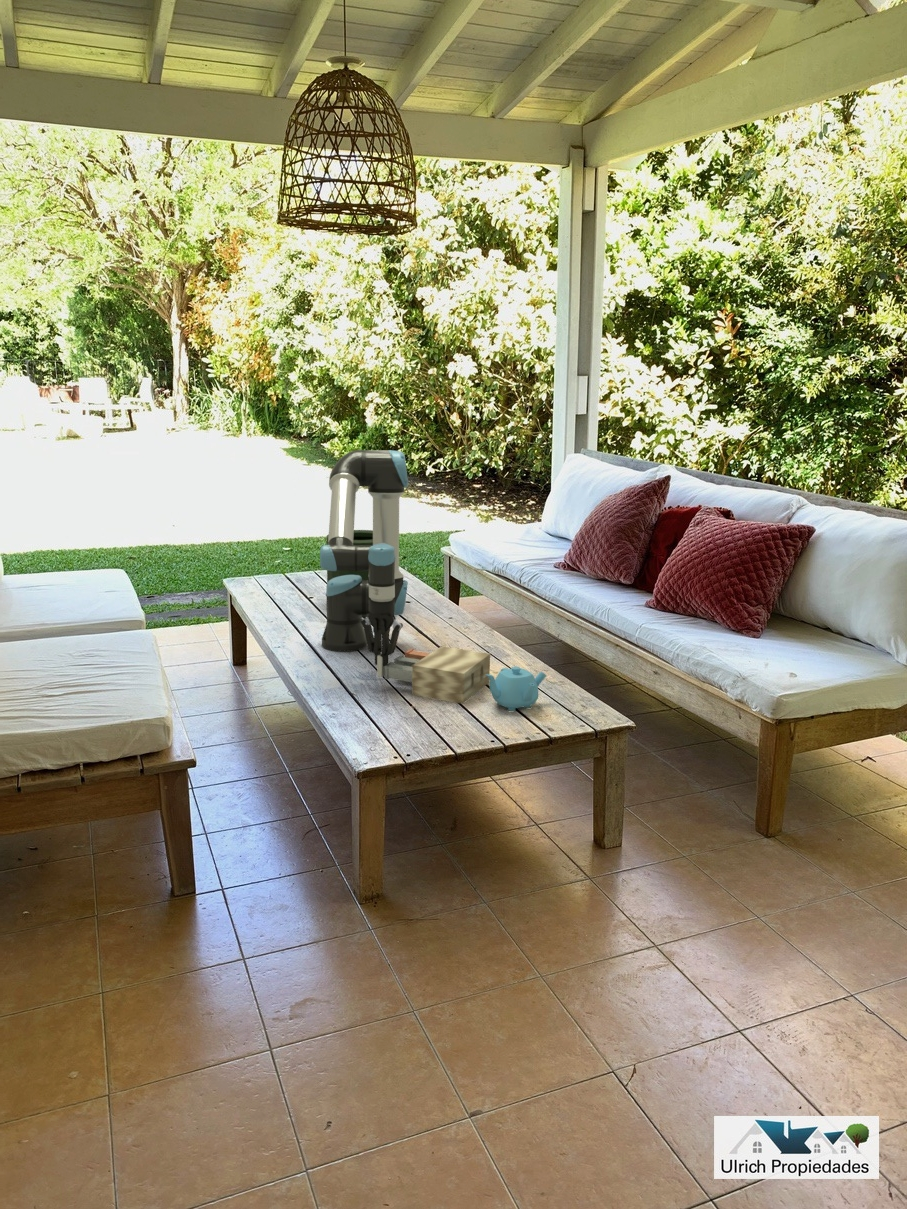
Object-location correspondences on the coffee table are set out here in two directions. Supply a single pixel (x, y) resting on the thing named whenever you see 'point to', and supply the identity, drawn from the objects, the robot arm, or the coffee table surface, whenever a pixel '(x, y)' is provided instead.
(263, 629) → the coffee table surface
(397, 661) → the grey plug middle
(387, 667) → the grey plug near
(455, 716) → the coffee table surface
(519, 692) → the teapot
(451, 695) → the socket block
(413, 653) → the terracotta plug
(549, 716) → the coffee table surface
